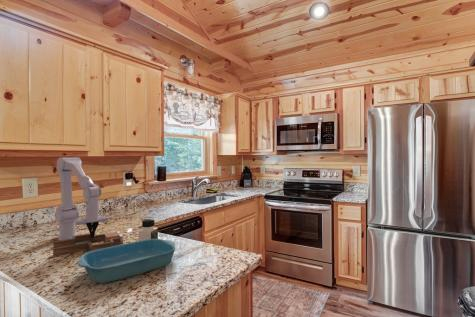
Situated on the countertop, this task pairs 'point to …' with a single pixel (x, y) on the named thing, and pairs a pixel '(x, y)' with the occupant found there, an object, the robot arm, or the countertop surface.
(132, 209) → the countertop surface
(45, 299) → the countertop surface
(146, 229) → the medicine bottle
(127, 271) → the casserole dish
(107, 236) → the block
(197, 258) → the countertop surface
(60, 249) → the trap lane
